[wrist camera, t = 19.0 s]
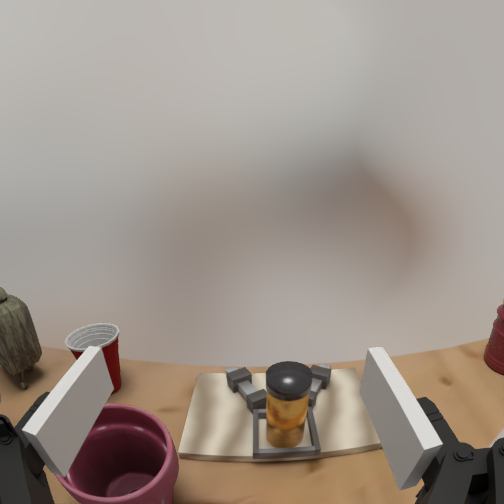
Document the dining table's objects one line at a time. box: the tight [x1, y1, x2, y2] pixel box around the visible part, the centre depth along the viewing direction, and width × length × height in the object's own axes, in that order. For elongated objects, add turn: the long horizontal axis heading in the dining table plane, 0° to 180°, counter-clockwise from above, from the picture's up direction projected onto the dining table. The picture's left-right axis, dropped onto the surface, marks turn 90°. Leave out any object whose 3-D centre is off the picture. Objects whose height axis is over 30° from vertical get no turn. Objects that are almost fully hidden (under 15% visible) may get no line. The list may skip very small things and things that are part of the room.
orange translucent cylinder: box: [266, 361, 313, 448], centre depth 37 cm, size 6×6×12 cm
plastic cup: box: [65, 323, 121, 394], centre depth 48 cm, size 11×11×12 cm
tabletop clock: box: [0, 287, 42, 389], centre depth 45 cm, size 14×9×25 cm, turn 68°
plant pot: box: [54, 404, 179, 504], centre depth 25 cm, size 14×14×13 cm
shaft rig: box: [178, 364, 383, 462], centre depth 43 cm, size 30×20×4 cm
